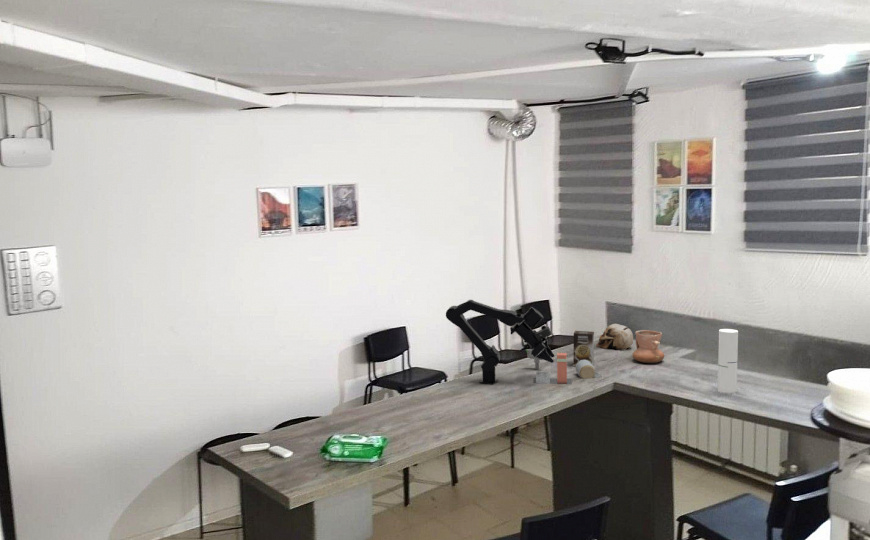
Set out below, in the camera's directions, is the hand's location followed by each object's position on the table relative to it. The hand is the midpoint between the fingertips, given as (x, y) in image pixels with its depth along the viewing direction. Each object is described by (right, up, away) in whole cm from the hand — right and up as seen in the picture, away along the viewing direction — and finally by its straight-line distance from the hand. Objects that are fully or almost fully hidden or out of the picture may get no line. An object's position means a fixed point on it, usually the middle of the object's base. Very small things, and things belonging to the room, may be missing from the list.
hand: (553, 359), depth 305 cm
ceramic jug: (+51, -5, +35) cm, 62 cm away
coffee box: (+19, -7, +30) cm, 36 cm away
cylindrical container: (+68, -11, -15) cm, 71 cm away
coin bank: (+42, -2, +64) cm, 77 cm away
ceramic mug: (+17, -10, +9) cm, 21 cm away
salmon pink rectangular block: (+4, -10, +1) cm, 10 cm away
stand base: (0, -11, +1) cm, 11 cm away
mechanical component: (-4, -9, +21) cm, 23 cm away
